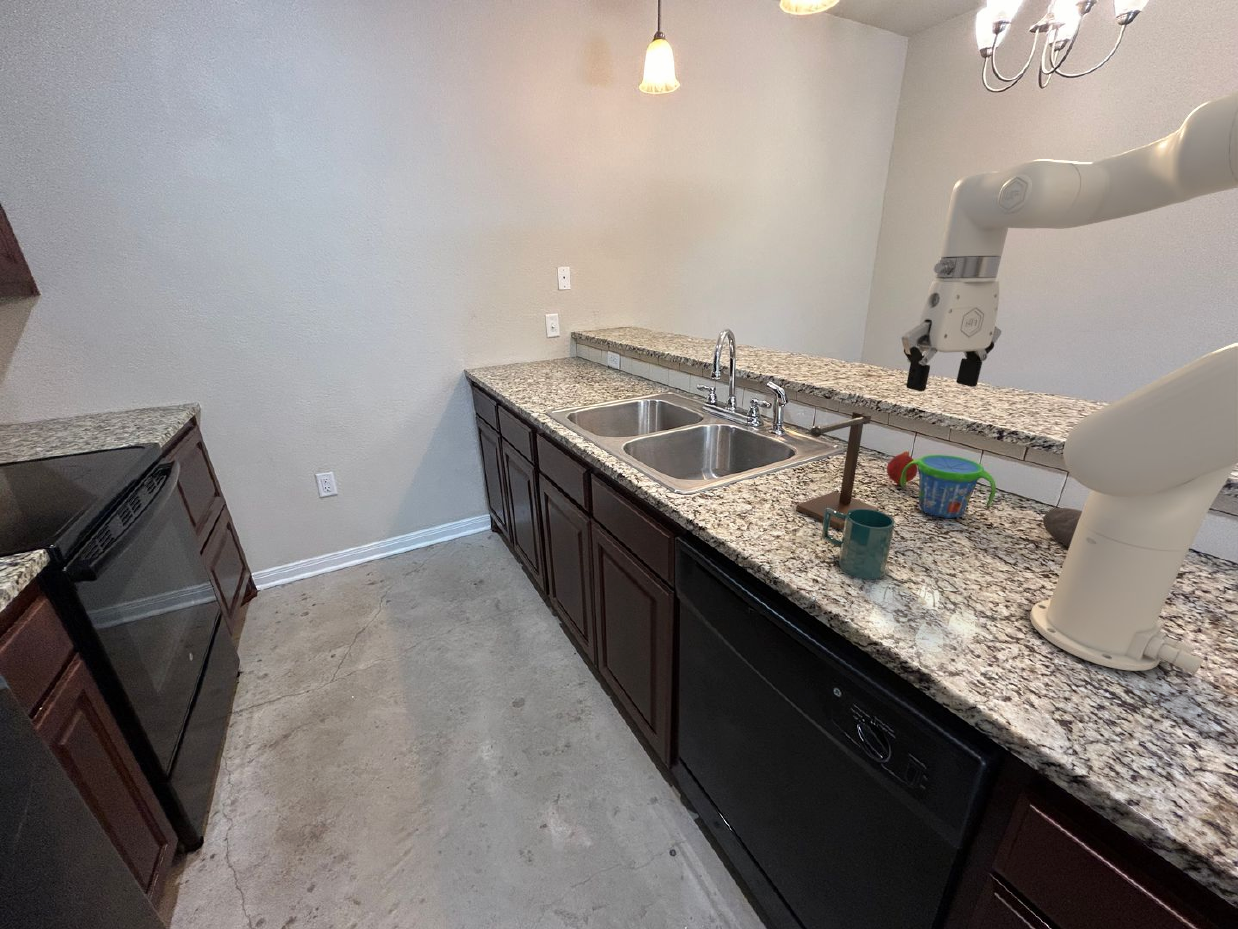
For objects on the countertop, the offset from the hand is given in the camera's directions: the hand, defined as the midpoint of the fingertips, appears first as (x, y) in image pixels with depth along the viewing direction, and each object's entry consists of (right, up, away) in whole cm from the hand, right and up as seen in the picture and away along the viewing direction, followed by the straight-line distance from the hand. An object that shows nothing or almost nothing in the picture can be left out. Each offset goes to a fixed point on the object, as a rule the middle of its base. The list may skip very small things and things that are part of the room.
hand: (940, 387), depth 78 cm
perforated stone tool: (+27, -27, +6) cm, 39 cm away
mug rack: (-10, -22, +20) cm, 31 cm away
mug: (-13, -28, +4) cm, 31 cm away
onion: (+12, -17, +33) cm, 39 cm away
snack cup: (+13, -22, +21) cm, 33 cm away
